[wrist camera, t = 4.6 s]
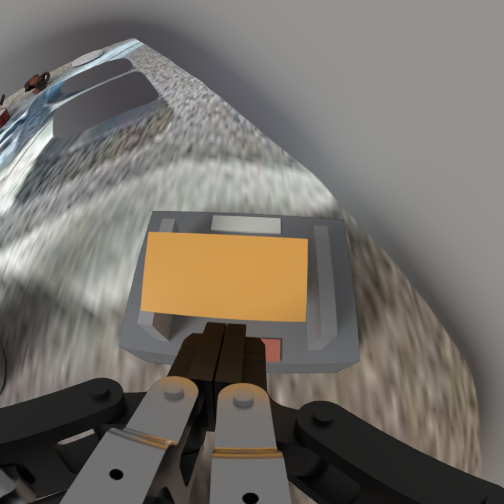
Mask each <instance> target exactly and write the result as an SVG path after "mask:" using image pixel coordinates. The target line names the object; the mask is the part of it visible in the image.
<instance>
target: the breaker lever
mask: <svg viewBox="0 0 504 504" xmlns="http://www.w3.org/2000/svg"><path fill="white" fill-rule="evenodd" d="M307 266H308V239H300V238H281V237H262V236H242V235H220V234H196V233H169V232H149V233H148V241H147V249H146V257H145V266H144V276H143V287H142V299H141V311H149V312H157V313H166V314H176V315H186V316H198V317H210V318H223V319H239V320H258V321H285V322H306V303H307Z"/></svg>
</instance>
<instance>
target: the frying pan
mask: <svg viewBox="0 0 504 504" xmlns="http://www.w3.org/2000/svg"><path fill="white" fill-rule="evenodd" d="M4 98H5V95H2V98H1V101H0V128H1V127H2V126H3V125H4V124H5V123H6V122H7V121H8V119H9V114H8V111H7V109H6V108H2V109H1V107H2V105H3V101H4Z"/></svg>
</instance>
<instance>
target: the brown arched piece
mask: <svg viewBox="0 0 504 504" xmlns="http://www.w3.org/2000/svg"><path fill="white" fill-rule="evenodd" d="M45 75H47V78H46V80H45ZM40 78H42V79H40ZM49 78H50V73H48V72H45V73H43V74H42V75H41V76H39V75H35V76H33V77H32V78H31V79H30V80H29V81H28V82H27V83H26V84H25V86H24V87H25V93H26V91H30V90H32V89H34V88H35V90H34V91H33V93H34V94H35V95H36V94H37V93H38V92H39V91H40V90H42V89H44V88H46V84H47V81H48V80H49ZM29 84H30V85H29Z"/></svg>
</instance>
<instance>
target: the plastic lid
mask: <svg viewBox="0 0 504 504" xmlns="http://www.w3.org/2000/svg"><path fill="white" fill-rule="evenodd" d="M100 55H102V50H97V51H93V52H91V53H88V54H86V55H83V56H81V57H79V58H78V59H76V60H74V61H73V62H72V66H73V67H74V66H79V65H82V64H84V63H87V62H89V61H91V60H93V59H95V58H97V57H99V56H100Z"/></svg>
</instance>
